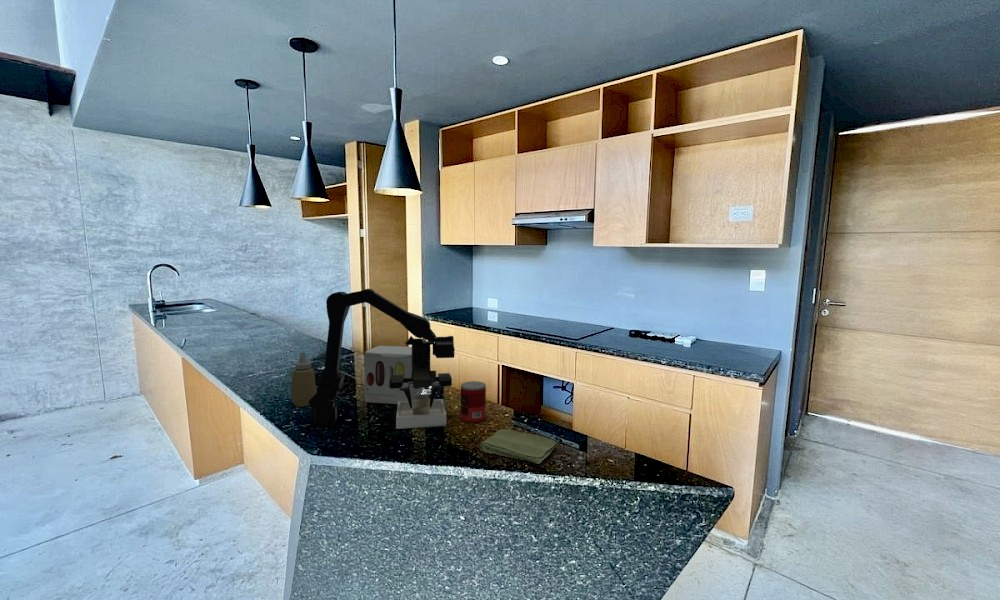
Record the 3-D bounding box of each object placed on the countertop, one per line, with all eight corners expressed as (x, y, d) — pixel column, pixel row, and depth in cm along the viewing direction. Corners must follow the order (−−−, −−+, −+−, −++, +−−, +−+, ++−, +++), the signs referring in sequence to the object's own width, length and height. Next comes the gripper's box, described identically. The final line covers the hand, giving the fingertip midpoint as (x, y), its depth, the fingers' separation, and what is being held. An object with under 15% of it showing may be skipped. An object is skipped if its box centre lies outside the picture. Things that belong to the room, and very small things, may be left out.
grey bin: (396, 428, 120) (396, 417, 119) (398, 411, 134) (397, 401, 134) (446, 425, 123) (446, 414, 122) (442, 409, 137) (442, 399, 137)
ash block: (412, 418, 126) (412, 399, 125) (412, 413, 130) (412, 395, 130) (429, 417, 127) (429, 398, 126) (428, 412, 132) (428, 394, 131)
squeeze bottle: (285, 406, 138) (283, 353, 136) (304, 399, 145) (303, 349, 144) (303, 409, 135) (301, 355, 133) (322, 402, 142) (321, 351, 141)
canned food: (489, 416, 131) (490, 383, 130) (477, 425, 123) (478, 389, 123) (468, 412, 134) (468, 379, 133) (455, 421, 127) (456, 386, 126)
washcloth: (541, 469, 97) (541, 456, 97) (477, 454, 105) (477, 441, 105) (559, 448, 109) (559, 436, 109) (499, 435, 117) (499, 424, 117)
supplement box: (363, 403, 142) (363, 351, 141) (379, 392, 156) (379, 345, 154) (411, 405, 140) (411, 353, 139) (423, 394, 154) (423, 346, 152)
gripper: (388, 365, 117) (388, 418, 118) (453, 363, 121) (453, 414, 122) (390, 357, 128) (390, 406, 129) (450, 355, 132) (450, 403, 133)
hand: (420, 407), depth 128 cm, fingers open, 6 cm apart
